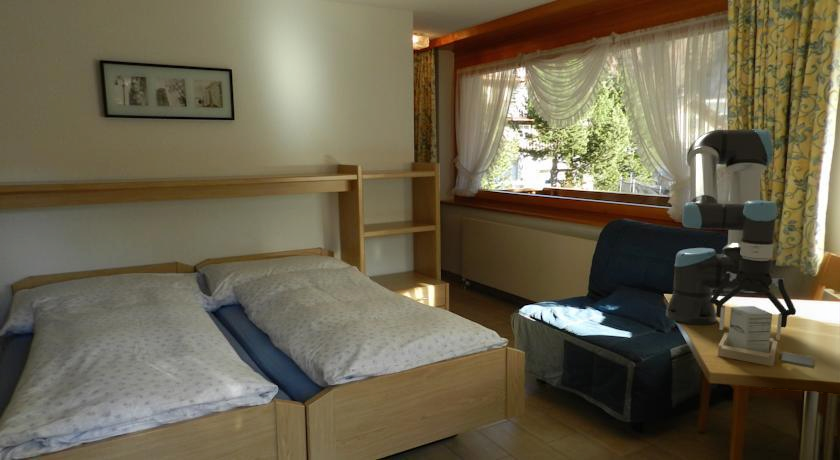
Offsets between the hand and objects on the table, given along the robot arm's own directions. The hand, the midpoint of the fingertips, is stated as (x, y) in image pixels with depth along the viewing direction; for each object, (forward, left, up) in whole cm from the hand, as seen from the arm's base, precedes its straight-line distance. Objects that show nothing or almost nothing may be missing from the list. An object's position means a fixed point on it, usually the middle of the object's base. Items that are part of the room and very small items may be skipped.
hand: (749, 333), depth 156 cm
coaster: (+11, +2, -6) cm, 13 cm away
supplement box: (0, 0, -6) cm, 6 cm away
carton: (0, 0, -6) cm, 6 cm away
